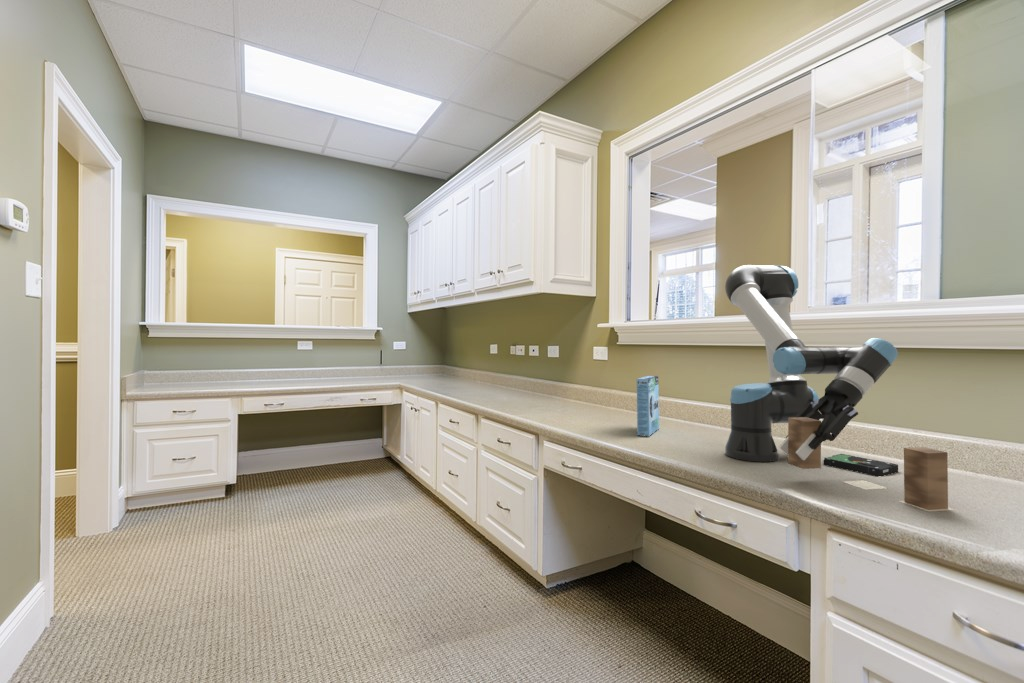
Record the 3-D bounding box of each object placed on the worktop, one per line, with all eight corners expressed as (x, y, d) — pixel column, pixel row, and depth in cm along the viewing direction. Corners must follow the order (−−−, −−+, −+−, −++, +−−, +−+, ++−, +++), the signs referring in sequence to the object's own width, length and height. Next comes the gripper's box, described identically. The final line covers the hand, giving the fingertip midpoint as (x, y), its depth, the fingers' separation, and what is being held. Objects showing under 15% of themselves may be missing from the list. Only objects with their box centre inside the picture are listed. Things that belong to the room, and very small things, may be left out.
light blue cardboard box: (649, 437, 178) (648, 379, 178) (636, 436, 181) (635, 378, 181) (659, 429, 195) (659, 375, 195) (647, 428, 198) (647, 375, 198)
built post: (904, 501, 101) (903, 447, 101) (923, 500, 102) (922, 447, 102) (928, 510, 96) (927, 453, 96) (948, 508, 97) (947, 452, 97)
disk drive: (898, 474, 129) (840, 461, 142) (898, 464, 129) (840, 452, 142) (881, 479, 124) (822, 466, 137) (881, 469, 124) (822, 456, 137)
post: (788, 463, 119) (788, 417, 119) (805, 462, 120) (805, 417, 119) (803, 468, 114) (803, 421, 114) (820, 467, 115) (821, 420, 114)
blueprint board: (818, 483, 118) (818, 478, 118) (889, 483, 118) (889, 478, 118) (890, 517, 95) (890, 511, 95) (978, 517, 95) (978, 511, 95)
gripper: (890, 403, 110) (830, 474, 108) (827, 393, 128) (774, 454, 125) (871, 381, 109) (810, 452, 107) (811, 374, 127) (757, 435, 125)
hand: (791, 453), depth 116 cm, fingers closed on post, 5 cm apart
